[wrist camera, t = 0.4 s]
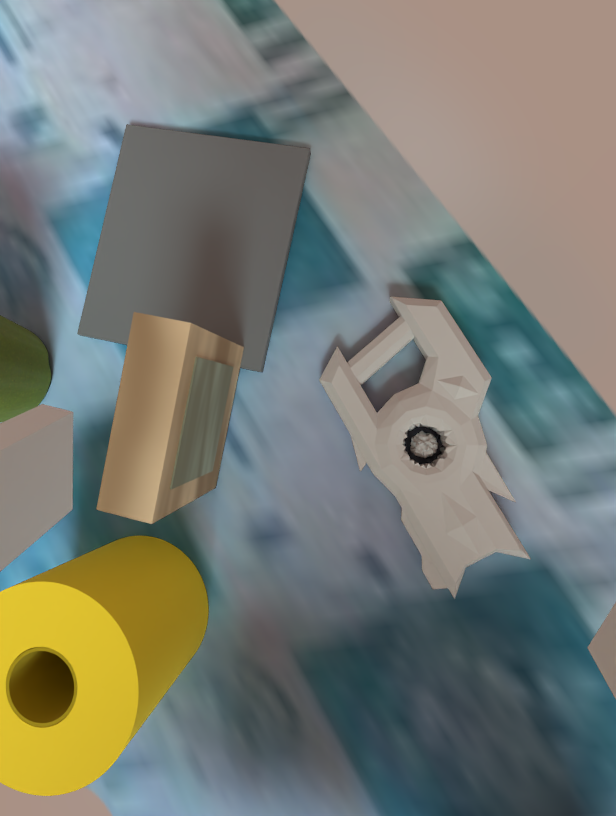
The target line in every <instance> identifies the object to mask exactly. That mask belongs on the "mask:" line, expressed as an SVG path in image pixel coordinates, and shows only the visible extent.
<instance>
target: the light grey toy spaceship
mask: <svg viewBox="0 0 616 816" xmlns="http://www.w3.org/2000/svg"><path fill="white" fill-rule="evenodd" d="M390 304H391V305H392V307H393V308H394V310H395V312H396V313H397V315H398V316H399V318H398V319H397V320H396V321H395V322H393V323H392V324H391V325H390V326H389V327H388V328H386V329H385V330H384V331H383V332H382V333H381V334H379V335H378V336H377V337H376V338H375V339H374V340H372V341H371V342H370V343H369V344H368V345H367V346H366V347H364V348H363V349H362V350H361V351H360V352H359V353H357V354H356V355H355V356H354V357H353V358H352V359H350V360H349V361H348V362H346V360H345V358H344V356H343V355H342V353H341V351H340V350H339V348H338V346H337V348H336V350H335V351H334V353H333V355H332V357H331V359H330V361H329V363H328V365H327V366H326V368H325V370H324V372H323V374H322V376H321V378H320V380H319V381H320V382H321V384H322V386H323V388H324V389H325V391H326V393H327V395H328V396H329V398H330V400H331V401H332V403H333V405H334V407H335V408H336V410H337V412H338V414H339V415H340V417H341V419H342V421H343V422H344V424H345V426H346V428H347V429H348V431H349V433H350V435H351V439H352V442H353V446H354V450H355V454H356V458H357V461H358V465H359V469H360V471H361V470H362V469H363V467H364V466H365V465H366V463H367V464H368V466H369V468H370V469H371V471H372V473H373V474H374V475H375V476H376V477H377V478H378V479H379V480H380V481H381V482H382V483H383V484H384V485H385V487H386V488H387V489H388V490H389V491H390V492H391V493H392V494H393V495H394V496H395V497H396V499H397V500H398V502H399V504H400V506H401V507H402V510H401V520H402V522H403V524H404V526H405V527H406V529H407V531H408V533H409V534H410V536H411V538H412V540H413V541H414V543H415V545H416V547H417V548H418V550H419V552H420V554H421V555H422V571H423V573H424V575H425V576H426V578H427V580H428V582H429V583H430V585H431V587H432V589H444V588H448V589H449V590H450V592H451V594H452V596H453V597H454V599H455V596H456V593H457V591H458V588H459V585H460V582H461V580H462V577H463V574H464V571H465V569H466V567H468V566H470V565H472V564H474V563H476V562H478V561H480V560H482V559H484V558H485V557H487V556H489V555H491V554H493V553H495V552H499V553H503V554H508V555H513V556H518V557H522V558H527V559H531V558H530V557H529V555H528V553H527V552H526V550H525V549H524V547H523V545H522V544H521V542H520V541H519V539H518V537H517V536H516V534H515V532H514V531H513V529H512V528H511V526H510V524H509V523H508V521H507V520H506V518H505V516H504V515H503V513H502V511H501V510H500V508H499V507H498V505H497V503H496V502H495V500H494V499H493V497H492V495H491V494H490V492H489V491H491V492H493V493H495V494H498V495H500V496H502V497H504V498H507V499H509V500H511V501H513V502H515V500H514V498H513V496H512V495H511V493H510V491H509V490H508V488H507V486H506V485H505V483H504V481H503V480H502V478H501V476H500V475H499V473H498V471H497V470H496V468H495V466H494V465H493V463H492V461H491V460H490V458H489V456H488V455H487V453H486V449H487V443H486V440H485V436H484V433H483V430H482V427H481V423H480V420H479V417H478V414H479V411H480V408H481V406H482V403H483V400H484V397H485V395H486V392H487V389H488V386H489V384H490V381H491V376H490V375H489V373H488V371H487V370H486V368H485V367H484V365H483V364H482V362H481V361H480V359H479V358H478V356H477V355H476V353H475V351H474V350H473V348H472V347H471V345H470V344H469V342H468V341H467V339H466V338H465V336H464V335H463V333H462V331H461V330H460V328H459V327H458V325H457V324H456V322H455V321H454V319H453V318H452V316H451V315H450V313H449V312H448V310H447V308H446V307H445V305H444V304H443V302H442V301H441V300H429V299H416V298H403V297H391V296H390ZM412 340H414V342H415V343H416V345H417V347H418V348H419V350H420V351H421V353H422V355H423V356H424V358H425V359H426V361H425V364H424V367H423V370H422V374H421V377H420V380H419V383H418V384H416V385H414V386H412V387H409V388H407V389H405V390H403V391H400V392H398V393H396V394H394V395H393V396H392V397H391V398H390V399H389V401H388V402H387V403H386V404H385V405H384V406H383V407H382V408H381V409H380V410H379V411H378V412H376V411H375V409H374V407H373V406H372V404H371V402H370V400H369V399H368V397H367V395H366V394H365V392H364V390H363V389H362V387H361V385H362V384H363V383H364V382H366V381H367V380H368V379H369V378H370V377H371V376H372V375H373V374H375V373H376V372H377V371H378V370H379V369H380V368H381V367H382V366H384V365H385V364H386V363H387V362H388V361H389V360H390V359H391V358H393V357H394V356H395V355H396V354H397V353H398V352H399V351H400V350H402V349H403V348H404V347H405V346H406V345H407V344H408V343H409V342H411V341H412ZM416 426H417V427H422V426H424V427H427V428H428V429H432V430H434V431H435V432H437V435H439V434H440V435H441V437H440V439H441V440H440V441H441V443H442V444H443V445H444V446H443V447H441V448H440V451H441V452H442V454H440V455H438V456H437V459H435V460H434V461H432V463H425V464H421V465H419V463H416V462H415V461H414V460H412V459H411V458H410V457H409V455H408V454H407V453H408V452H406V451H405V448H406V447H405V446H404V444H405V441H404V440H405V438H407V433H409V430H411V431H412V429H415V427H416ZM411 439H412V442H411V443H410V444H411V445H412V446H411V448H410V450H411V451H412V452H413V453H415V454H414V455H417V457H418V456H420V457H422V458H423V457H425V458H426V457H428V456H433V454H435V453H436V449H437V448H438V446H437V445H438V443H437V442H436V438H435V436H433V435H432V434H431V433H424V432H423V431H421V432H420V433H417V434H416V435H415V436H413V437H412V438H411Z"/></svg>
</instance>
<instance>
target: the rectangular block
mask: <svg viewBox="0 0 616 816" xmlns="http://www.w3.org/2000/svg"><path fill="white" fill-rule="evenodd" d="M243 350H244V347H242V346H240V345H238V344H236V343H234V342H231V341H229V340H227V339H225V338H223V337H221V336H218V335H216V334H214V333H212V332H210V331H208V330H205V329H203V328H201V327H199V326H197V325H194V324H192V323H189V322H184V321H179V320H173V319H168V318H163V317H158V316H153V315H148V314H142V313H137V312H134V313H133V319H132V324H131V329H130V334H129V340H128V345H127V350H126V356H125V361H124V366H123V371H122V377H121V382H120V387H119V392H118V398H117V403H116V408H115V414H114V419H113V424H112V429H111V435H110V440H109V445H108V451H107V456H106V461H105V466H104V472H103V477H102V482H101V488H100V493H99V498H98V503H97V509H96V510H100V511H103V512H107V513H111V514H115V515H119V516H123V517H126V518H130V519H134V520H138V521H142V522H146V523H149V524H153V523H155V522H156V521H158V520H160V519H162V518H163V517H165V516H167V515H169V514H171V513H172V512H174V511H176V510H178V509H179V508H181V507H183V506H185V505H186V504H188V503H190V502H192V501H193V500H195V499H197V498H199V497H200V496H202V495H204V494H206V493H208V492H209V491H211V490H213V489H215V488H216V484H217V479H218V474H219V469H220V464H221V459H222V454H223V449H224V444H225V439H226V434H227V429H228V424H229V419H230V414H231V409H232V404H233V399H234V394H235V389H236V384H237V380H238V375H239V370H240V365H241V360H242V355H243Z"/></svg>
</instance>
